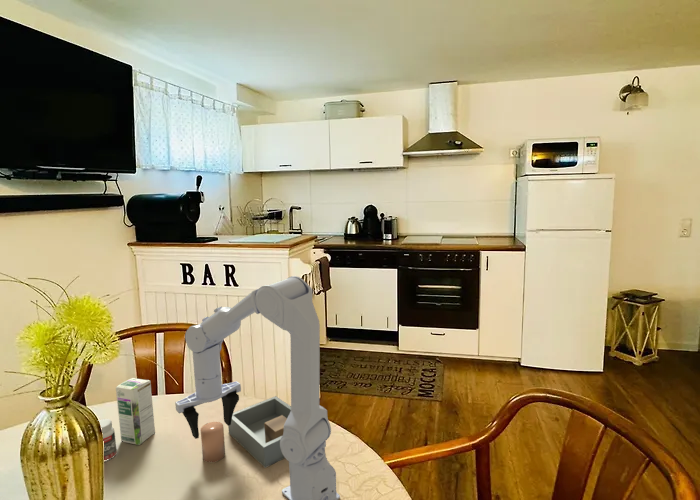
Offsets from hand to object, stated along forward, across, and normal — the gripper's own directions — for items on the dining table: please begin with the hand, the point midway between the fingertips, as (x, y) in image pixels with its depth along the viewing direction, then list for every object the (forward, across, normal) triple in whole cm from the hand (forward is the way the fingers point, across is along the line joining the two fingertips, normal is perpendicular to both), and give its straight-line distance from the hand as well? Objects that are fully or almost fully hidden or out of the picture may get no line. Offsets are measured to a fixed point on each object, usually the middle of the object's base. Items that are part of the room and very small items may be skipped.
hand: (212, 429), depth 98 cm
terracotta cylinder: (+6, 0, 0) cm, 7 cm away
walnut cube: (+6, -14, +7) cm, 16 cm away
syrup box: (+7, +11, -20) cm, 24 cm away
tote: (+6, -14, +3) cm, 15 cm away
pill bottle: (+7, +19, -17) cm, 26 cm away
